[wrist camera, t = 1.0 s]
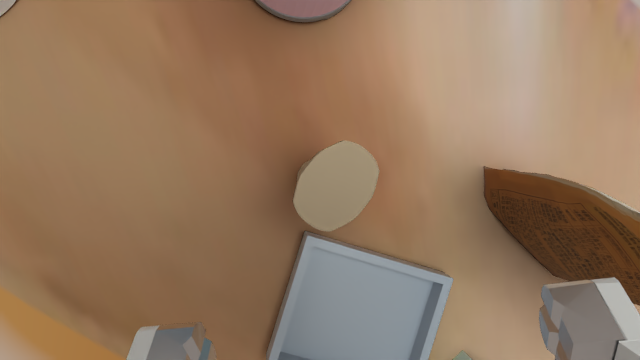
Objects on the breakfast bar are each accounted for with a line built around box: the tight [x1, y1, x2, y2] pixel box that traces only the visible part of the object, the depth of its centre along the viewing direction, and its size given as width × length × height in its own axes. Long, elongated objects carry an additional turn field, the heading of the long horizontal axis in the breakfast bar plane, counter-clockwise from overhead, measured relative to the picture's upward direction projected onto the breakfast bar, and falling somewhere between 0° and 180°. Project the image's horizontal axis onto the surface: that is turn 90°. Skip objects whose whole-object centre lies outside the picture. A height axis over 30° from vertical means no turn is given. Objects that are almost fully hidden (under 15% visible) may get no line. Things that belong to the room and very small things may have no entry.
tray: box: [266, 231, 453, 360], centre depth 49 cm, size 15×13×3 cm
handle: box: [293, 141, 379, 232], centre depth 42 cm, size 5×6×15 cm
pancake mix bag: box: [484, 167, 640, 305], centre depth 39 cm, size 7×19×28 cm, turn 46°
